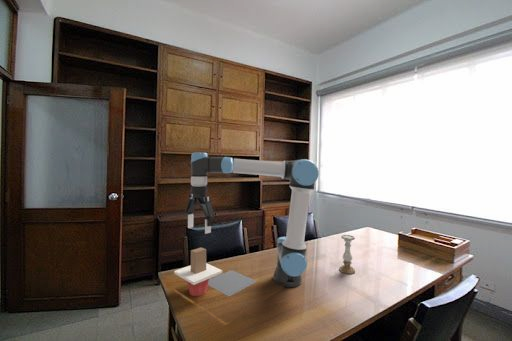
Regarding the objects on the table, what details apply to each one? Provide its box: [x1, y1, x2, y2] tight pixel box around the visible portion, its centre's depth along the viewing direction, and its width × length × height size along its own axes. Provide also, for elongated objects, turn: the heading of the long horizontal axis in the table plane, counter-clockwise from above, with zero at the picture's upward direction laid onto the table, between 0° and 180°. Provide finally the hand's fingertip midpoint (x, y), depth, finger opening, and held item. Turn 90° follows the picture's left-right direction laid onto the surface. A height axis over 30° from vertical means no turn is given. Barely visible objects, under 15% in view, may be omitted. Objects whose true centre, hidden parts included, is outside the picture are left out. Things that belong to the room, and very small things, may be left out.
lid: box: [173, 247, 223, 285], centre depth 117 cm, size 16×16×11 cm
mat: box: [208, 269, 258, 297], centre depth 127 cm, size 20×20×1 cm
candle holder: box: [338, 234, 356, 275], centre depth 144 cm, size 9×9×20 cm
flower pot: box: [186, 278, 210, 297], centre depth 117 cm, size 11×11×10 cm
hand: (198, 230), depth 116 cm, fingers open, 13 cm apart
